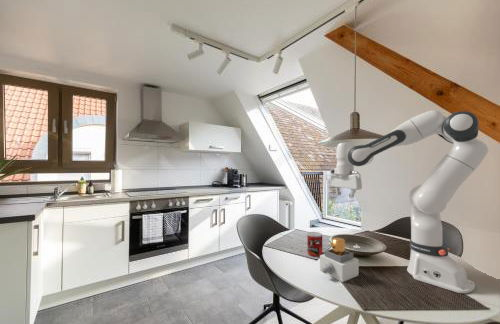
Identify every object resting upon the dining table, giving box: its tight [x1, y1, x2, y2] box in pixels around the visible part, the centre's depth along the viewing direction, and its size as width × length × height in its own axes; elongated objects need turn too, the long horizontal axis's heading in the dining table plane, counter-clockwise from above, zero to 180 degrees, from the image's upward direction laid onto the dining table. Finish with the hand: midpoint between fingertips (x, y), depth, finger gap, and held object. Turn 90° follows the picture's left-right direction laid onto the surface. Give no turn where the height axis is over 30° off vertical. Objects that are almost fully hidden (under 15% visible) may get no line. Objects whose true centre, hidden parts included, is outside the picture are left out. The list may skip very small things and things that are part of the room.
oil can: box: [329, 237, 346, 256], centre depth 103 cm, size 8×5×8 cm
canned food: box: [306, 231, 323, 257], centre depth 126 cm, size 8×8×11 cm
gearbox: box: [319, 247, 360, 283], centre depth 103 cm, size 12×15×10 cm
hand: (345, 196), depth 126 cm, fingers open, 8 cm apart
